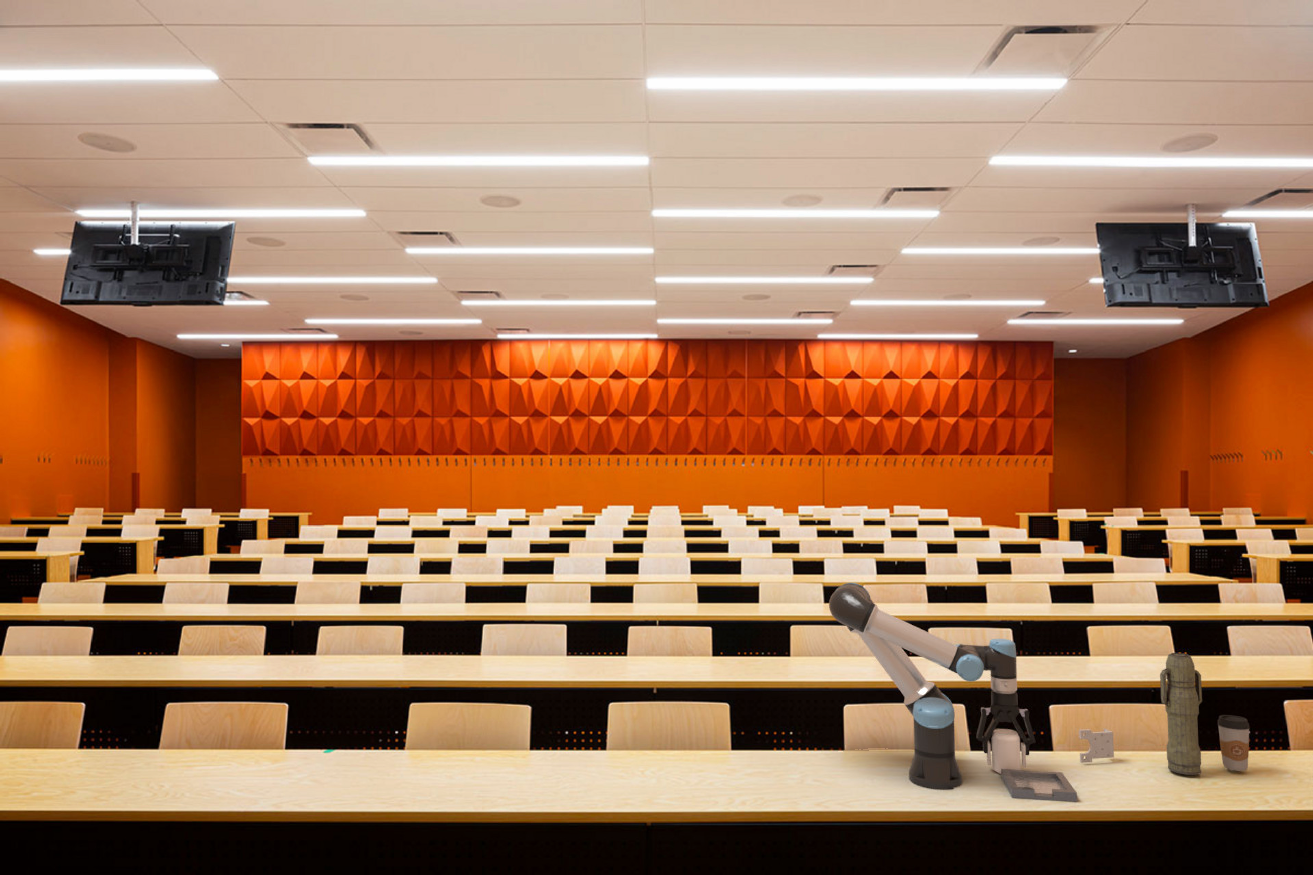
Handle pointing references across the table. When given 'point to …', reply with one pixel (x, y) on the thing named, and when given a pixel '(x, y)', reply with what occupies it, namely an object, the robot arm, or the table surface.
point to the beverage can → (1005, 750)
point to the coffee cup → (1234, 741)
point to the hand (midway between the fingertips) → (1006, 764)
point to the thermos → (1182, 713)
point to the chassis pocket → (1038, 785)
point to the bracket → (1097, 745)
